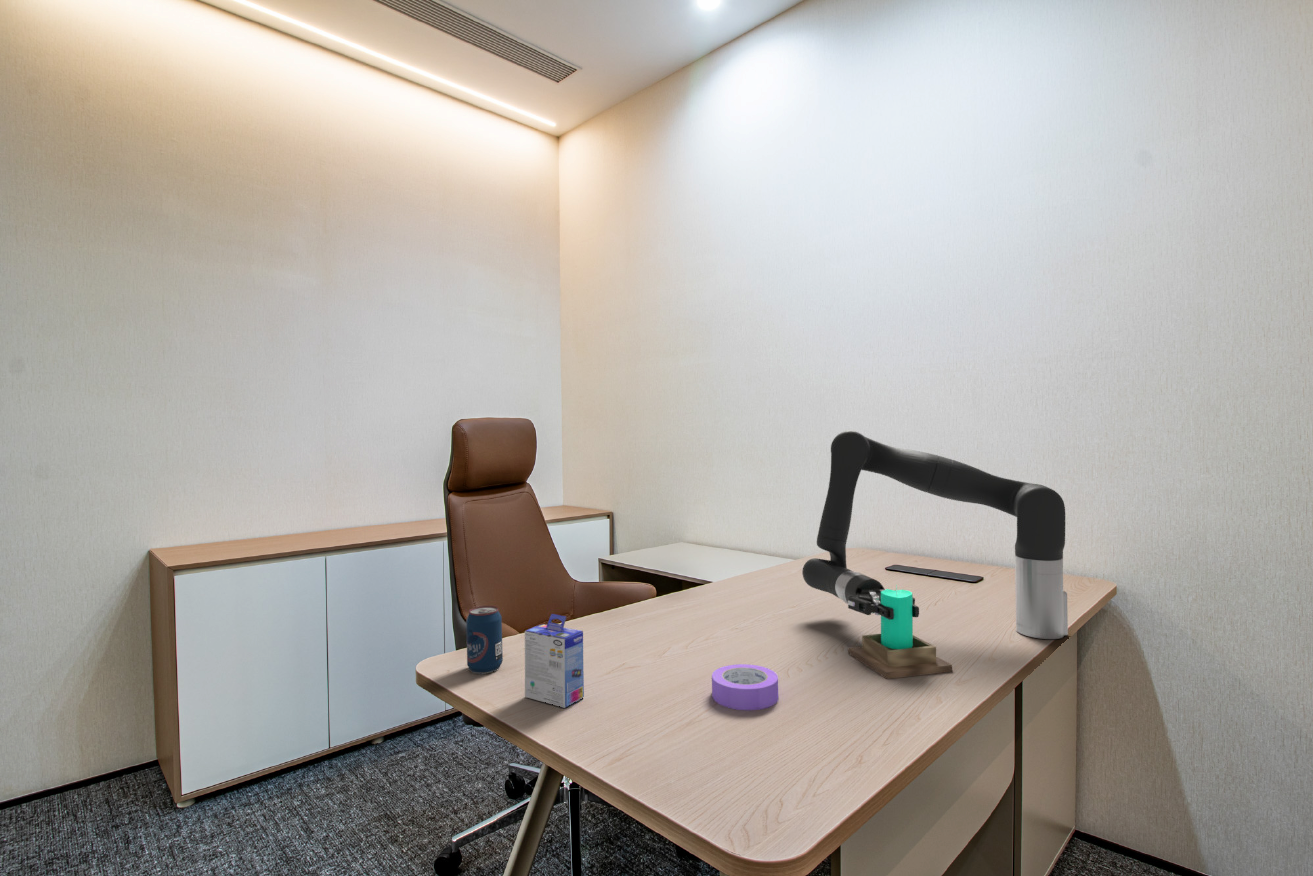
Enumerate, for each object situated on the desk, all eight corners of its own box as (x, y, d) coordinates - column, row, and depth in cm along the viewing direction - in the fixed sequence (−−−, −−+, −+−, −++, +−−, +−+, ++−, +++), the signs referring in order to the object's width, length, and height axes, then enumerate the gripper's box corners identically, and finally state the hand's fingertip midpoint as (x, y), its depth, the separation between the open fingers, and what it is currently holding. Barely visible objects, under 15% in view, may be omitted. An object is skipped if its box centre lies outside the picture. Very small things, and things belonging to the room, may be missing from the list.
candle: (917, 643, 127) (917, 584, 127) (905, 652, 123) (905, 590, 123) (888, 637, 131) (888, 579, 131) (875, 644, 127) (875, 585, 127)
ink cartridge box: (586, 698, 113) (584, 617, 113) (566, 710, 109) (564, 625, 108) (544, 687, 119) (542, 610, 118) (523, 698, 114) (521, 617, 114)
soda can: (460, 672, 127) (458, 612, 126) (481, 660, 133) (480, 603, 133) (488, 677, 124) (487, 616, 124) (509, 664, 130) (508, 606, 130)
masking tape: (710, 683, 119) (710, 663, 119) (773, 683, 118) (773, 663, 118) (713, 711, 107) (713, 689, 107) (783, 711, 107) (782, 689, 107)
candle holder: (908, 647, 135) (908, 627, 135) (952, 671, 122) (951, 649, 122) (848, 653, 132) (848, 633, 132) (886, 678, 119) (886, 656, 119)
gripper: (829, 576, 139) (871, 597, 123) (888, 572, 142) (937, 591, 126) (829, 610, 140) (871, 635, 123) (888, 605, 143) (937, 629, 126)
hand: (904, 613), depth 124 cm, fingers closed on candle, 5 cm apart
